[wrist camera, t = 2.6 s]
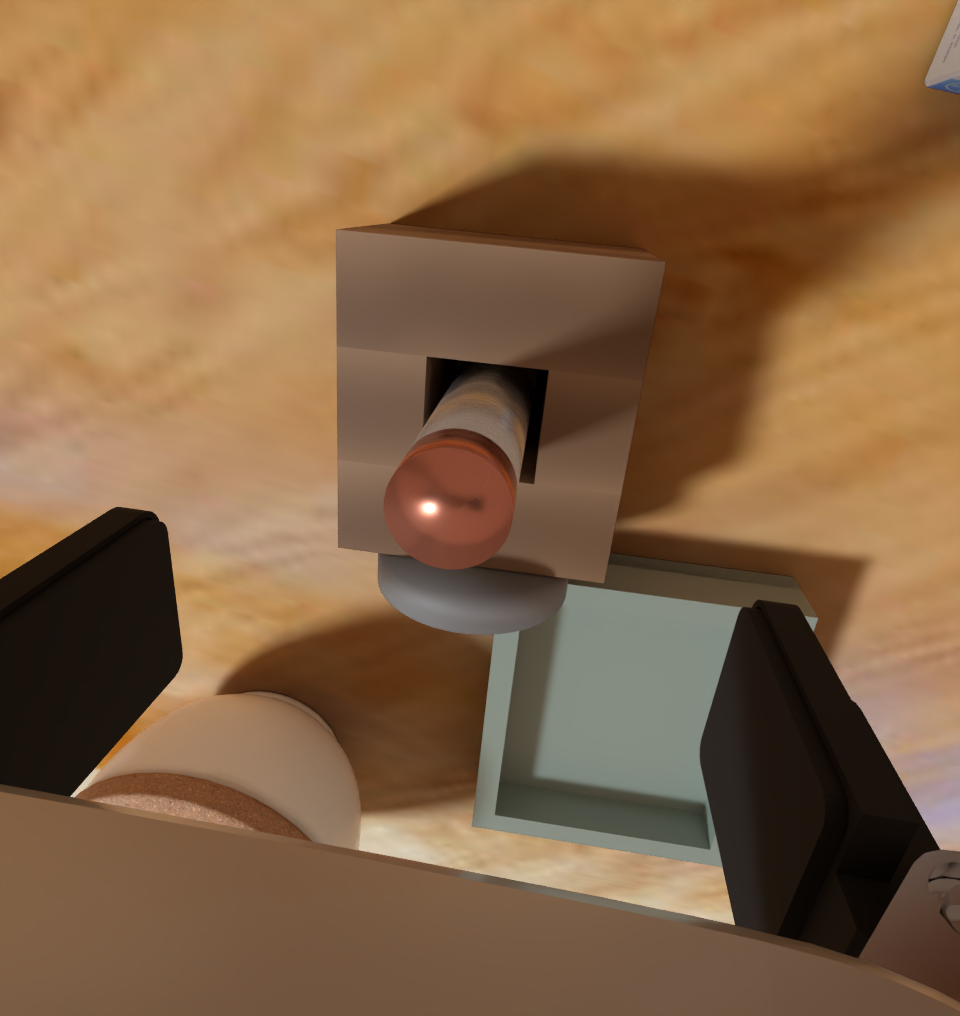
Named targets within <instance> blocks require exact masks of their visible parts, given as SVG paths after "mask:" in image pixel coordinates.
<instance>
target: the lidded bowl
mask: <svg viewBox="0 0 960 1016" xmlns="http://www.w3.org/2000/svg"><path fill="white" fill-rule="evenodd" d="M75 798H79V799H85V800H90V801H96V802H101V803H107V804H112V805H118V806H123V807H129V808H134V809H140V810H145V811H151V812H156V813H162V814H167V815H173V816H178V817H183V818H189V819H194V820H199V821H205V822H210V823H216V824H221V825H226V826H232V827H237V828H242V829H248V830H253V831H258V832H264V833H269V834H274V835H280V836H285V837H290V838H296V839H301V840H306V841H312V842H317V843H322V844H327V845H333V846H338V847H343V848H349V849H354V850H359V842H360V830H361V807H360V798H359V790H358V785H357V782H356V778H355V775H354V772H353V769H352V766H351V763H350V761H349V760H348V758H347V756H346V754H345V752H344V750H343V749H342V747H341V746H340V744H339V743H338V742H337V739H336V737H335V735H334V733H333V731H332V729H331V728H330V727H329V725H328V724H327V723H326V721H325V720H324V719H323V718H322V717H321V716H320V715H319V714H317V713H316V712H315V711H314V710H312V709H311V708H310V707H308V706H306V705H305V704H303V703H302V702H300V701H297V700H295V699H293V698H291V697H288V696H285V695H282V694H278V693H273V692H265V691H251V692H245V693H240V694H225V695H217V696H212V697H207V698H204V699H200V700H197V701H194V702H191V703H189V704H186V705H183V706H181V707H179V708H177V709H175V710H173V711H171V712H169V713H168V714H166V715H164V716H163V717H161V718H159V719H158V720H156V721H155V722H153V723H152V724H150V725H149V726H148V727H146V728H145V729H144V730H143V731H141V732H140V733H139V734H137V735H136V736H135V737H134V738H133V739H132V740H131V741H130V742H129V743H127V744H126V745H125V746H124V747H123V748H122V749H121V750H120V751H119V752H118V753H117V754H116V755H115V756H114V757H113V758H112V759H111V760H110V761H109V762H108V763H107V764H106V765H105V766H104V767H103V768H102V769H101V770H100V772H99V773H98V774H97V775H96V776H95V777H94V778H93V779H92V780H91V782H90V783H89V784H88V785H87V787H86V788H85V789H84V790H83V791H82V792H80V793H79V794H78V795H77V796H76V797H75Z"/></svg>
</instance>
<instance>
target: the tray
mask: <svg viewBox="0 0 960 1016" xmlns="http://www.w3.org/2000/svg"><path fill="white" fill-rule="evenodd" d="M758 599H759V600H766V601H773V602H780V603H787V604H794V605H798V606H799V608H800V609H801V611H802V612H803V614H804V616H805V618H806V620H807V621H808V623H809V625H810V627H811V629H812V630H813V632H814V629H815V626H816V623H817V621H818V616H817V615H816V613H815V612H814V610H813V608H812V607H811V605H810V603H809V602H808V600H807V598H806V597H805V595H804V593H803V592H802V590H801V589H800V587H799V585H798V584H797V582H796V580H795V579H794V577H788V576H781V575H773V574H765V573H758V572H750V571H743V570H735V569H727V568H720V567H712V566H704V565H697V564H689V563H682V562H674V561H666V560H659V559H651V558H644V557H636V556H628V555H621V554H613V553H610V555H609V560H608V565H607V570H606V575H605V580H604V583H598V582H590V581H583V580H575V579H569V580H568V586H567V592H566V598H565V600H564V603H563V605H562V606H561V608H560V609H559V610H558V611H557V612H556V613H555V614H554V615H553V616H552V617H550V618H549V619H547V620H546V621H544V622H542V623H540V624H538V625H536V626H533V627H531V628H528V629H525V630H521V631H516V632H511V633H504V634H494V639H493V648H492V656H491V665H490V674H489V682H488V691H487V700H486V708H485V717H484V726H483V735H482V743H481V752H480V761H479V769H478V778H477V787H476V795H475V804H474V813H473V821H472V827H478V828H485V829H491V830H497V831H503V832H509V833H515V834H521V835H528V836H534V837H540V838H546V839H552V840H558V841H564V842H571V843H577V844H583V845H589V846H595V847H601V848H607V849H613V850H620V851H626V852H632V853H638V854H644V855H650V856H656V857H663V858H669V859H675V860H681V861H687V862H693V863H699V864H706V865H712V866H718V867H723V866H722V862H721V857H720V853H719V848H718V843H717V839H716V834H715V830H714V825H713V820H712V816H711V811H710V807H709V802H708V797H707V793H706V788H705V783H704V779H703V774H702V770H701V765H700V743H701V738H702V735H703V731H704V728H705V724H706V721H707V718H708V714H709V711H710V708H711V704H712V701H713V698H714V694H715V691H716V687H717V684H718V681H719V677H720V674H721V671H722V667H723V664H724V661H725V657H726V654H727V650H728V647H729V644H730V640H731V637H732V634H733V630H734V627H735V624H736V620H737V617H738V614H739V611H740V610H741V608H742V607H749V608H752V606H753V604H754V603H755V601H757V600H758Z"/></svg>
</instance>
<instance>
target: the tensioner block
mask: <svg viewBox="0 0 960 1016" xmlns="http://www.w3.org/2000/svg"><path fill="white" fill-rule="evenodd" d="M665 265H666V262H664V261H663V260H661V259H659V258H658V257H656V256H654V255H653V254H651V253H649V252H648V251H646V250H644V249H642V248H632V247H621V246H611V245H601V244H591V243H581V242H571V241H561V240H551V239H540V238H530V237H520V236H510V235H500V234H490V233H480V232H470V231H459V230H449V229H439V228H429V227H419V226H409V225H399V224H380V225H371V226H362V227H353V228H345V229H336V300H337V447H338V548H345V549H353V550H360V551H368V552H375V553H378V584H379V587H380V590H381V592H382V594H383V595H384V597H385V598H386V600H387V601H388V602H389V603H390V604H391V605H392V606H393V607H395V608H396V609H397V610H398V611H400V612H401V613H403V614H404V615H406V616H408V617H409V618H411V619H413V620H416V621H418V622H420V623H422V624H425V625H428V626H431V627H434V628H437V629H441V630H445V631H450V632H456V633H463V634H473V635H493V634H504V633H511V632H516V631H521V630H525V629H528V628H531V627H533V626H536V625H538V624H540V623H542V622H544V621H546V620H547V619H549V618H550V617H552V616H553V615H554V614H555V613H556V612H557V611H558V610H559V609H560V608H561V606H562V605H563V603H564V600H565V598H566V592H567V586H568V580H569V579H575V580H583V581H590V582H598V583H604V580H605V575H606V570H607V565H608V560H609V555H610V549H611V544H612V539H613V534H614V529H615V524H616V518H617V513H618V508H619V503H620V498H621V493H622V487H623V482H624V477H625V472H626V467H627V462H628V456H629V451H630V446H631V441H632V436H633V431H634V425H635V420H636V415H637V410H638V405H639V400H640V395H641V389H642V384H643V379H644V374H645V369H646V364H647V358H648V353H649V348H650V343H651V338H652V333H653V327H654V322H655V317H656V312H657V307H658V302H659V296H660V291H661V286H662V281H663V276H664V271H665ZM455 360H463V361H472V362H480V363H489V364H498V365H507V366H516V367H525V368H534V369H543V370H548V375H547V382H546V390H545V398H544V405H543V413H542V421H541V426H536V425H529V426H528V432H527V437H526V443H525V449H524V455H523V461H522V467H521V473H520V479H519V485H518V490H517V496H516V502H515V508H514V514H513V520H512V525H511V530H510V532H509V535H508V537H507V539H506V541H505V543H504V544H503V546H502V547H501V548H500V549H499V551H498V552H497V553H496V554H495V555H493V556H492V557H491V558H489V559H488V560H486V561H484V562H483V563H481V564H478V565H476V566H473V567H469V568H464V569H453V570H451V569H441V568H436V567H432V566H429V565H426V564H424V563H422V562H420V561H418V560H416V559H415V558H413V557H412V556H410V555H409V554H408V553H406V552H405V551H404V550H403V549H402V548H401V547H400V546H399V545H398V543H397V542H396V541H395V540H394V538H393V537H392V535H391V533H390V531H389V529H388V527H387V524H386V521H385V516H384V508H383V503H384V495H385V491H386V488H387V485H388V483H389V481H390V479H391V478H392V476H393V474H394V473H395V471H396V470H397V468H398V467H399V465H400V463H401V462H402V460H403V459H404V457H405V456H406V454H407V452H408V451H409V449H410V448H411V446H412V445H413V443H414V441H415V440H416V438H417V437H418V435H419V434H420V432H421V431H422V429H423V427H424V426H425V424H426V423H427V421H428V420H429V418H430V416H431V415H432V413H433V412H434V410H435V409H436V407H437V405H438V404H439V402H440V401H441V399H442V398H443V396H444V395H445V393H446V391H447V390H448V388H449V387H450V385H451V384H452V382H453V375H454V361H455Z"/></svg>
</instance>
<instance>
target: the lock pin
mask: <svg viewBox="0 0 960 1016" xmlns="http://www.w3.org/2000/svg"><path fill="white" fill-rule="evenodd" d="M536 376H537V375H536V369H534V368H525V367H516V366H507V365H498V364H489V363H480V362H472V361H466V362H465V363H464V365H463V366H462V368H461V369H460V371H459V373H458V374H457V376H456V377H455V379H454V380H453V382H452V384H451V385H450V387H449V388H448V390H447V391H446V393H445V395H444V396H443V398H442V399H441V401H440V402H439V404H438V405H437V407H436V409H435V410H434V412H433V413H432V415H431V416H430V418H429V420H428V421H427V423H426V424H425V426H424V427H423V429H422V431H421V432H420V434H419V435H418V437H417V438H416V440H415V441H414V443H413V445H412V446H411V448H410V449H409V451H408V452H407V454H406V456H405V457H404V459H403V460H402V462H401V463H400V465H399V467H398V468H397V470H396V471H395V473H394V474H393V476H392V478H391V479H390V481H389V483H388V485H387V488H386V491H385V495H384V503H383V508H384V516H385V521H386V524H387V527H388V529H389V531H390V533H391V535H392V537H393V538H394V540H395V541H396V542H397V543H398V545H399V546H400V547H401V548H402V549H403V550H404V551H405V552H406V553H408V554H409V555H410V556H412V557H413V558H415V559H416V560H418V561H420V562H422V563H424V564H426V565H429V566H432V567H436V568H441V569H451V570H453V569H464V568H469V567H473V566H476V565H478V564H481V563H483V562H484V561H486V560H488V559H489V558H491V557H492V556H493V555H495V554H496V553H497V552H498V551H499V549H500V548H501V547H502V546H503V544H504V543H505V541H506V539H507V537H508V535H509V532H510V530H511V525H512V520H513V514H514V508H515V502H516V496H517V490H518V485H519V479H520V473H521V467H522V461H523V455H524V449H525V443H526V437H527V432H528V426H529V420H530V414H531V408H532V402H533V396H534V390H535V384H536Z"/></svg>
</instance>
